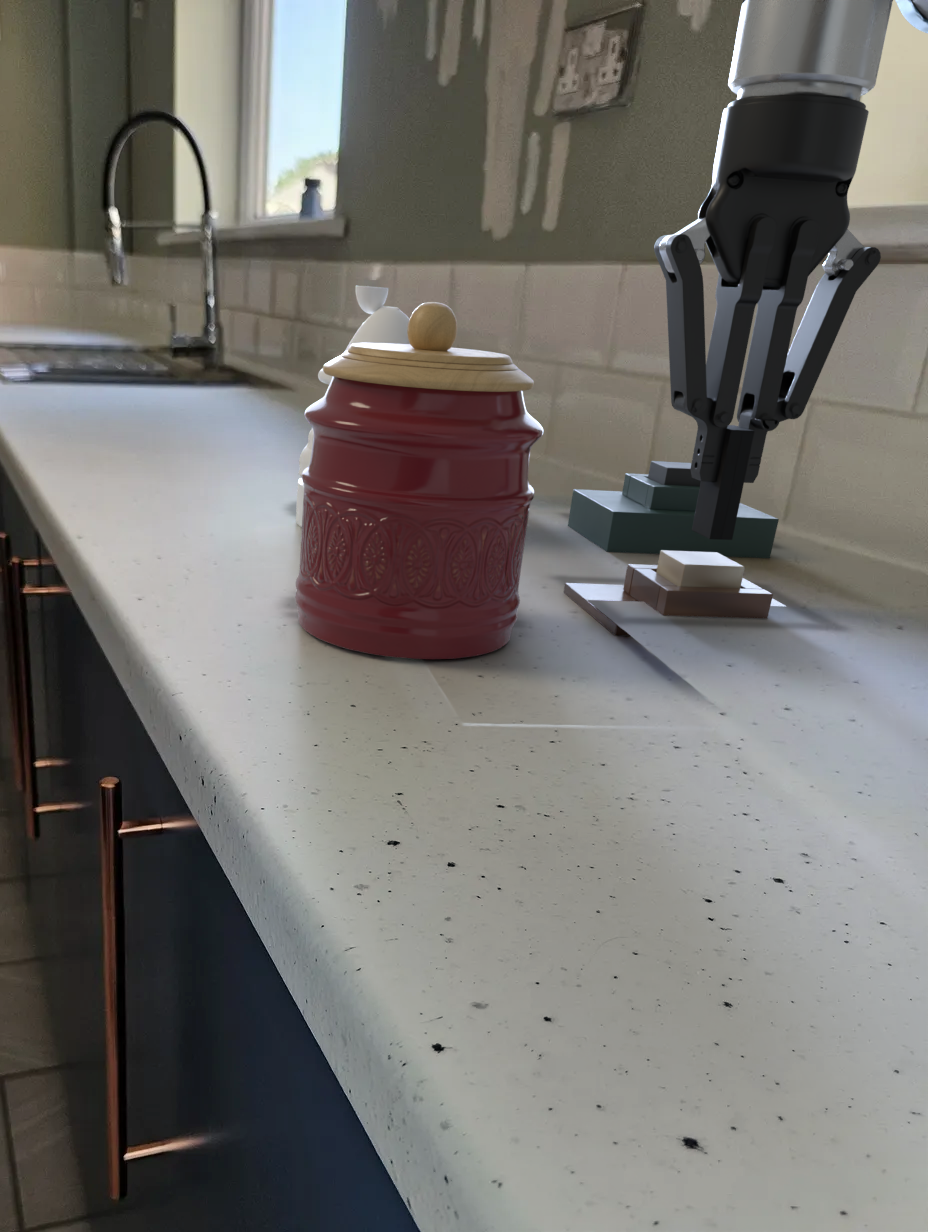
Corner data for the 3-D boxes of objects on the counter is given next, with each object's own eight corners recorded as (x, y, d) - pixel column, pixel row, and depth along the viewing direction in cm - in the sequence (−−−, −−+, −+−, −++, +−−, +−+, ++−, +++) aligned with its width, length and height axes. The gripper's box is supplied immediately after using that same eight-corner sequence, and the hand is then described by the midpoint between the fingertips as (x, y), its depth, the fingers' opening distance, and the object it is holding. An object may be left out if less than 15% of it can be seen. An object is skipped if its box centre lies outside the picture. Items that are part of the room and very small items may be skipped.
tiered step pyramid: (717, 532, 101) (729, 475, 99) (770, 558, 92) (784, 496, 90) (567, 526, 99) (576, 467, 97) (606, 552, 90) (617, 488, 88)
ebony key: (687, 484, 95) (691, 462, 95) (705, 491, 92) (709, 469, 91) (646, 482, 95) (650, 460, 94) (663, 489, 92) (667, 467, 91)
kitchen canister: (494, 678, 59) (543, 312, 51) (261, 642, 62) (276, 292, 54) (528, 617, 70) (572, 310, 63) (330, 590, 73) (349, 293, 66)
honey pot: (263, 520, 92) (273, 279, 85) (361, 505, 102) (378, 286, 94) (386, 550, 85) (408, 290, 78) (480, 531, 94) (508, 296, 87)
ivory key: (712, 578, 75) (717, 552, 74) (739, 594, 71) (745, 566, 70) (655, 576, 74) (660, 549, 73) (679, 592, 70) (685, 564, 70)
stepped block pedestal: (754, 599, 79) (762, 563, 78) (829, 642, 70) (839, 602, 69) (563, 592, 77) (568, 556, 76) (614, 635, 68) (621, 595, 67)
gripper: (869, 117, 65) (779, 525, 75) (656, 99, 64) (592, 520, 74) (949, 99, 59) (839, 550, 69) (713, 78, 57) (635, 545, 67)
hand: (711, 534), depth 71 cm, fingers closed
